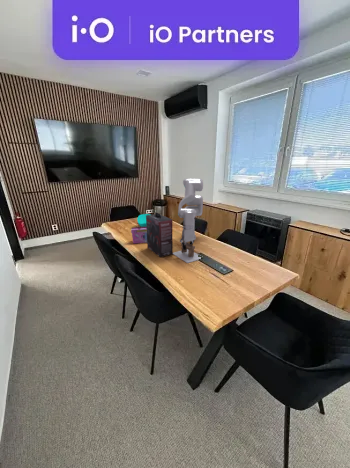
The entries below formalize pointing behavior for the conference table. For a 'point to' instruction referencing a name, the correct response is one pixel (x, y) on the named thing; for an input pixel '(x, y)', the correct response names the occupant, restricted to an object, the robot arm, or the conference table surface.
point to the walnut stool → (189, 247)
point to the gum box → (139, 234)
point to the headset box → (159, 234)
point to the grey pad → (186, 256)
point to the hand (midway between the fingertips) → (187, 248)
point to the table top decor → (142, 220)
